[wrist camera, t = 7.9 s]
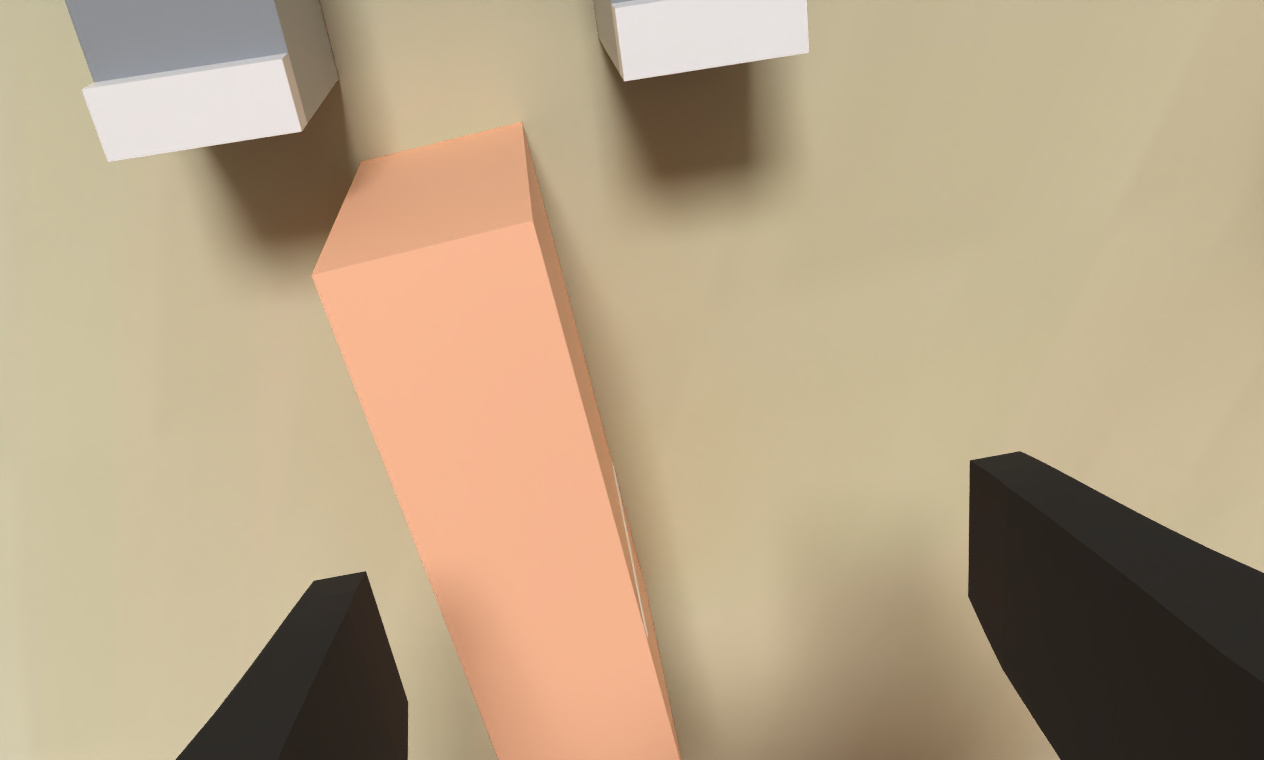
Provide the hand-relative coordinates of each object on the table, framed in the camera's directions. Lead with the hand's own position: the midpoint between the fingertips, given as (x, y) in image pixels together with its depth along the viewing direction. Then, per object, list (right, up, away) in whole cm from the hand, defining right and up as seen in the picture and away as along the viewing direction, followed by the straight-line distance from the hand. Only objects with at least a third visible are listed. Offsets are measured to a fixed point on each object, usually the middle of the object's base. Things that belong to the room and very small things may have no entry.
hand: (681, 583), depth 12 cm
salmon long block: (-3, +2, +9) cm, 10 cm away
